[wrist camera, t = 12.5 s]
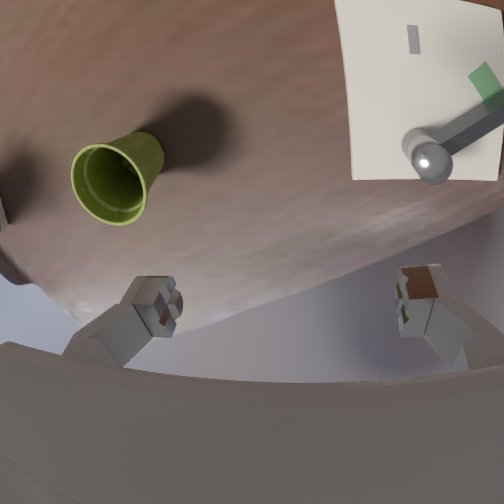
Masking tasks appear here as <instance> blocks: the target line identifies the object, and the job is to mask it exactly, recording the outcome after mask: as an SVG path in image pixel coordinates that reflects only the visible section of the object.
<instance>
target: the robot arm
mask: <svg viewBox="0 0 504 504" xmlns="http://www.w3.org/2000/svg"><path fill="white" fill-rule="evenodd" d="M397 278H398V282H399V283H398V284H397V285H396V289H395V307H396V312H397V313H398V314H399V315H400V316H399V321H398V323H399V329H400V334H401V337H413V336H414V337H415V336H424V338H425V339H426V340H427V341H428V343H429V344H430V345H431V346H432V347H433V348H434V350H435V351H436V352H437V353H438V354H439V356H440V357H441V358H442V359H443V360H444V362H445V363H446V364H447V365H448V366H449V367H450V371H449V372H448V374H440V375H432V376H424V377H414V378H404V379H392V380H378V381H361V382H336V383H275V382H252V381H251V382H250V381H235V380H221V379H220V380H219V379H208V378H197V377H188V376H179V375H171V374H163V373H155V372H148V371H141V370H135V369H129V368H123V366H124V365H125V364H126V363H127V362H129V361H130V359H131V358H133V357H134V356H135V355H136V354H137V353H138V352H139V351H140V350H141V349H142V348H143V347H144V346H145V345H146V344H147V343H148V342H149V341H150V340H151V339H152V337H162V338H171V337H172V335H173V332H174V330H175V327H176V325H177V324H176V322H175V320H176V319H177V318H178V317H180V315H181V313H182V310H183V299H182V296H181V293H180V292H179V291H178V290H176V289H175V286H176V282H175V280H174V278H173V277H171V276H137V277H136V278H135V279H134V280H133V282H132V284H131V285H130V287H129V288H128V290H127V292H126V293H125V295H124V297H123V298H122V300H121V302H120V303H119V304H116V305H114V306H113V307H111V308H110V309H108V310H107V311H106V312H104V313H103V314H101V315H100V316H99V317H97V318H96V319H94V320H93V321H92V322H90V323H89V324H87V325H86V326H85V327H83V328H82V329H80V330H79V331H78V332H76V333H75V334H74V335H73V337H72V338H71V340H70V342H69V344H68V345H67V347H66V349H65V350H64V352H63V354H62V355H58V354H54V353H50V352H46V351H42V350H38V349H35V348H31V347H27V346H23V345H20V344H17V343H14V342H5V343H3V344H1V345H0V504H504V335H503V333H501V332H500V331H499V330H498V329H497V328H496V327H494V326H493V325H492V324H491V323H490V322H488V321H487V320H486V319H485V318H484V317H482V316H481V315H480V314H479V313H477V312H476V311H475V310H474V309H473V308H471V307H470V306H469V305H468V304H466V303H465V302H464V301H462V300H461V299H460V298H459V297H454V296H453V294H452V291H451V288H450V286H449V283H448V281H447V278H446V276H445V273H444V271H443V269H442V266H441V265H440V264H431V265H421V266H407V267H399V269H398V274H397Z"/></svg>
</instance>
